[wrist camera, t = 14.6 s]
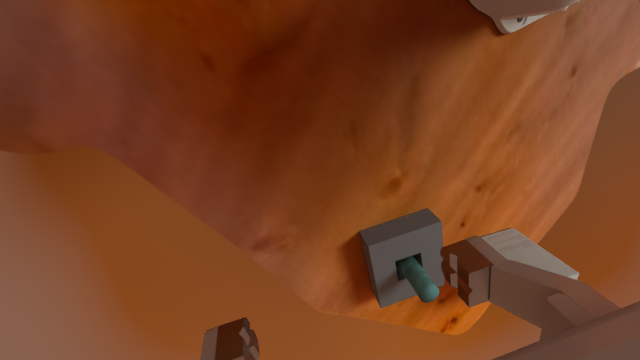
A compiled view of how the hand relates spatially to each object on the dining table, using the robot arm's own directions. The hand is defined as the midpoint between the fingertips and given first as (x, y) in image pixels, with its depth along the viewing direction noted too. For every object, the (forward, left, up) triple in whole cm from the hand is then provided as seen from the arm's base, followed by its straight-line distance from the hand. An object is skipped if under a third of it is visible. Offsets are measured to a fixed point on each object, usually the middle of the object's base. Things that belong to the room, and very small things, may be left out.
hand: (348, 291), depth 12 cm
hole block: (-13, +28, -29) cm, 42 cm away
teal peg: (-13, +28, -29) cm, 42 cm away
